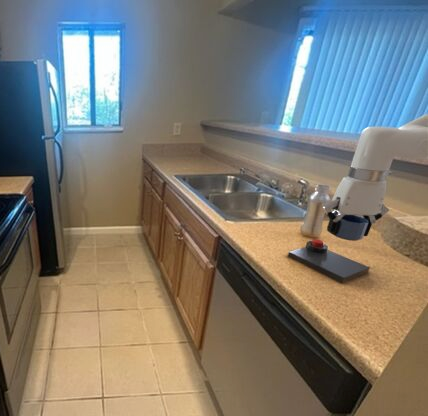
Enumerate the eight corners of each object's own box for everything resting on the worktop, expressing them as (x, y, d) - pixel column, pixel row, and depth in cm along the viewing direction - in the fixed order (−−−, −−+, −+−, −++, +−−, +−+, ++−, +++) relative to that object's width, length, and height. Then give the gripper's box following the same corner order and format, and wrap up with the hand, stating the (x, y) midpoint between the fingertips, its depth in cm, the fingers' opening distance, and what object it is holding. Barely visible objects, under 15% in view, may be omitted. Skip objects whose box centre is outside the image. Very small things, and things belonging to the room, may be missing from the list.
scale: (367, 272, 83) (371, 262, 82) (341, 283, 78) (345, 273, 77) (311, 248, 97) (313, 239, 96) (286, 256, 92) (288, 247, 91)
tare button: (324, 246, 92) (325, 242, 91) (318, 248, 91) (320, 243, 90) (315, 243, 94) (316, 238, 94) (309, 244, 93) (311, 240, 93)
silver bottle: (320, 241, 102) (335, 189, 95) (298, 236, 106) (311, 186, 99) (320, 234, 107) (335, 185, 99) (299, 230, 111) (312, 182, 103)
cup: (367, 238, 78) (374, 220, 76) (352, 243, 76) (359, 225, 74) (339, 228, 85) (344, 212, 83) (324, 233, 82) (329, 215, 80)
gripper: (391, 171, 76) (369, 229, 82) (323, 170, 78) (306, 226, 84) (416, 178, 69) (390, 241, 75) (341, 177, 71) (322, 238, 78)
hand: (346, 233), depth 80 cm, fingers closed on cup, 7 cm apart
